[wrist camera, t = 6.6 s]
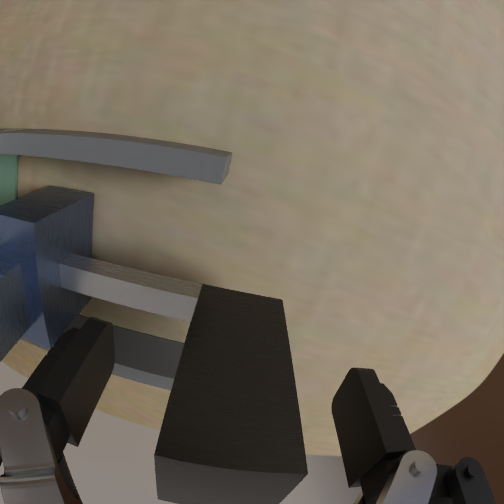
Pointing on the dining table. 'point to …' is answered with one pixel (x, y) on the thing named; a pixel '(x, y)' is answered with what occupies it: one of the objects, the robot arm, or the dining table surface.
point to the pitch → (128, 156)
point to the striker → (191, 361)
